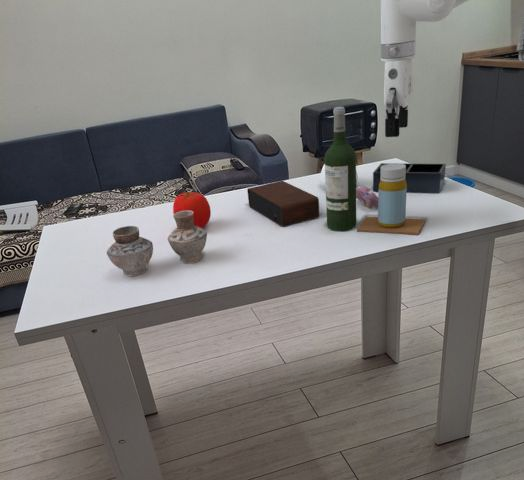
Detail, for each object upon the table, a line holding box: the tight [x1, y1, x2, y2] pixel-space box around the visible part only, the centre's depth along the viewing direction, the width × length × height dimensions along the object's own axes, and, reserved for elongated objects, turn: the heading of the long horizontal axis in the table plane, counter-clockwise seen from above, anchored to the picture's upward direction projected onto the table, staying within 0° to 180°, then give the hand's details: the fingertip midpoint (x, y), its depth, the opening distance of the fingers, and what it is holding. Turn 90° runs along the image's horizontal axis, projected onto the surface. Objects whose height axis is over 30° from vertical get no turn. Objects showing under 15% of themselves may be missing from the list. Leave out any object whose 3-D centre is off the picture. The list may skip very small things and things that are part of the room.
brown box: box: [247, 180, 320, 228], centre depth 159 cm, size 24×12×6 cm, turn 25°
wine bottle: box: [324, 106, 357, 232], centre depth 138 cm, size 8×8×30 cm
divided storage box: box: [372, 162, 447, 194], centre depth 167 cm, size 20×10×6 cm, turn 66°
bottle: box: [377, 162, 407, 228], centre depth 138 cm, size 7×7×15 cm
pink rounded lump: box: [356, 185, 378, 209], centre depth 156 cm, size 10×5×7 cm, turn 22°
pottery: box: [106, 210, 208, 277], centre depth 133 cm, size 11×25×12 cm, turn 109°
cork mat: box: [356, 215, 426, 236], centre depth 142 cm, size 16×10×1 cm, turn 66°
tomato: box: [172, 191, 212, 229], centre depth 153 cm, size 10×11×11 cm
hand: (396, 131), depth 130 cm, fingers open, 9 cm apart
